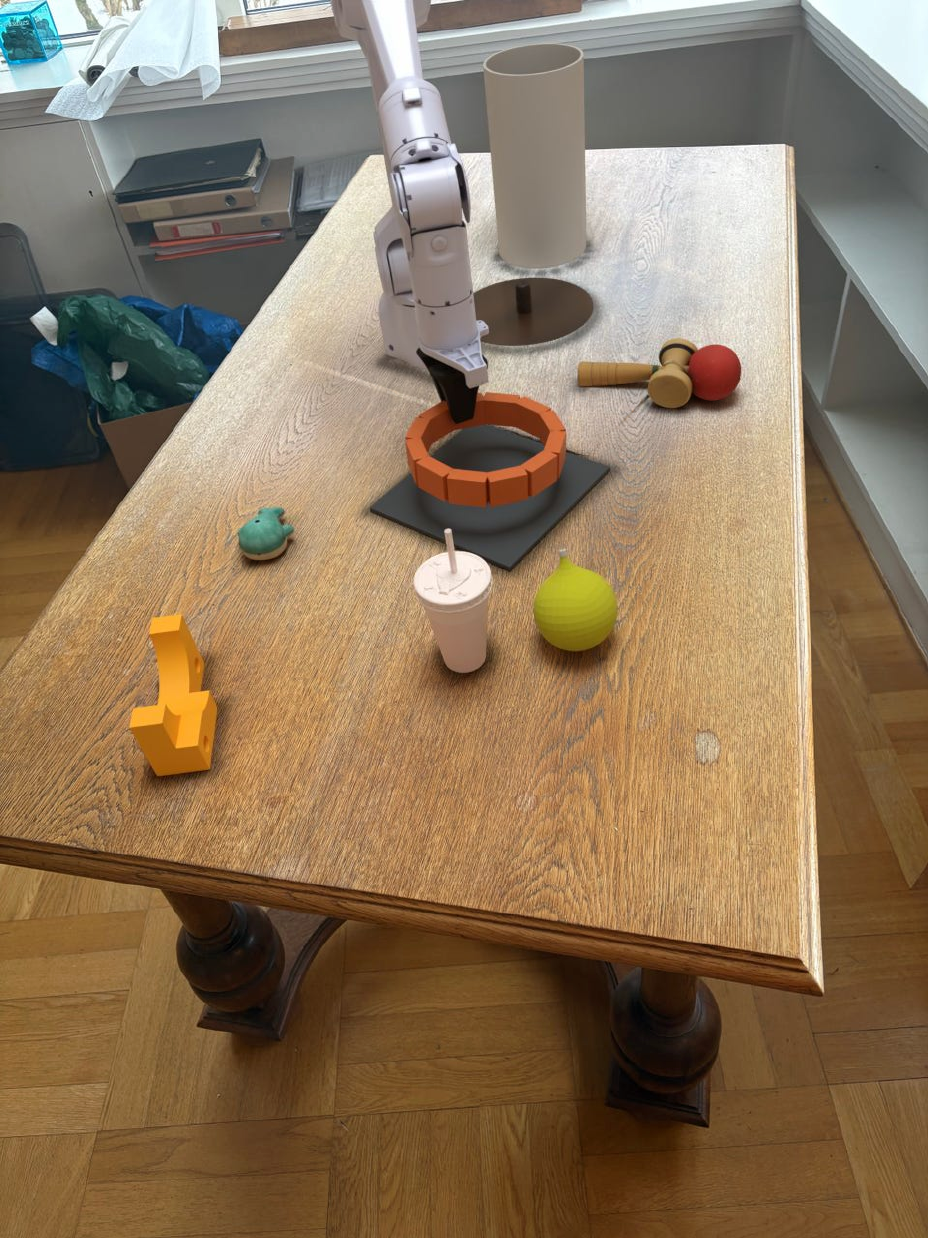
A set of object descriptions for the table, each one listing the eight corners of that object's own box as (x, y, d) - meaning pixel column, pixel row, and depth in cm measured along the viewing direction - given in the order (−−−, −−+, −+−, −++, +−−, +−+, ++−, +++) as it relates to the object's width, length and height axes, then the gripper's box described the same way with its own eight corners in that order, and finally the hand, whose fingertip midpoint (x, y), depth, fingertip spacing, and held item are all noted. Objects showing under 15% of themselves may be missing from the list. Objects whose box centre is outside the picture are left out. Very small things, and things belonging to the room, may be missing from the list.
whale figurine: (233, 566, 95) (222, 537, 92) (249, 519, 100) (239, 490, 97) (290, 564, 94) (280, 535, 92) (303, 516, 99) (294, 487, 97)
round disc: (428, 331, 124) (423, 299, 121) (508, 272, 133) (506, 241, 130) (542, 364, 115) (541, 330, 112) (620, 299, 124) (620, 266, 121)
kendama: (575, 417, 109) (737, 411, 102) (568, 364, 105) (735, 354, 99) (591, 391, 115) (745, 384, 108) (585, 340, 111) (744, 329, 104)
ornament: (558, 600, 87) (553, 515, 80) (630, 623, 84) (632, 537, 77) (521, 652, 83) (513, 568, 76) (596, 678, 80) (594, 593, 73)
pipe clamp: (209, 769, 77) (184, 720, 73) (157, 776, 78) (129, 727, 73) (223, 661, 86) (202, 611, 81) (176, 667, 86) (152, 618, 81)
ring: (378, 464, 97) (374, 439, 94) (484, 401, 104) (482, 376, 102) (489, 527, 88) (488, 501, 86) (595, 453, 96) (596, 428, 94)
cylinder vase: (601, 240, 137) (600, 45, 119) (560, 279, 130) (553, 78, 112) (526, 228, 142) (515, 40, 125) (483, 265, 135) (464, 71, 118)
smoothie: (510, 637, 84) (497, 514, 74) (488, 691, 80) (471, 569, 70) (443, 625, 86) (421, 504, 76) (418, 677, 82) (391, 557, 72)
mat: (370, 511, 99) (369, 507, 99) (473, 423, 108) (473, 419, 108) (510, 571, 90) (509, 567, 90) (610, 470, 99) (610, 466, 99)
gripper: (512, 312, 86) (522, 436, 96) (453, 253, 96) (467, 371, 106) (441, 334, 85) (458, 458, 94) (388, 272, 95) (408, 390, 104)
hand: (459, 414), depth 100 cm, fingers closed on ring, 2 cm apart
